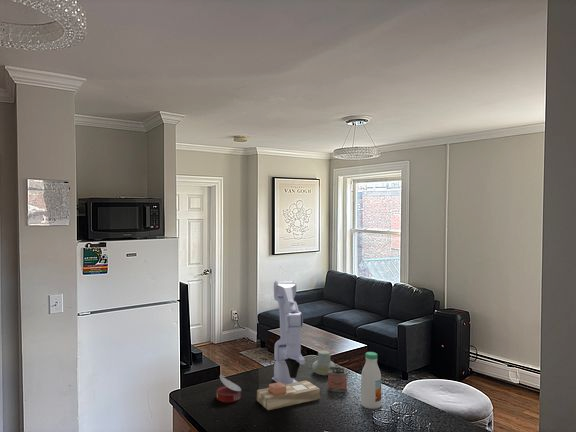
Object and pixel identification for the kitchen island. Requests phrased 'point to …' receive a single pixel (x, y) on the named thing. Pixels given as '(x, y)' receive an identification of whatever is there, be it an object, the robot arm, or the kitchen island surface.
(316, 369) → the pale green jug
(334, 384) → the lighter
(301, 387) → the grey button
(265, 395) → the button panel
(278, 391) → the terracotta button
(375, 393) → the milk bottle
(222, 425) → the kitchen island surface
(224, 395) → the canned food
